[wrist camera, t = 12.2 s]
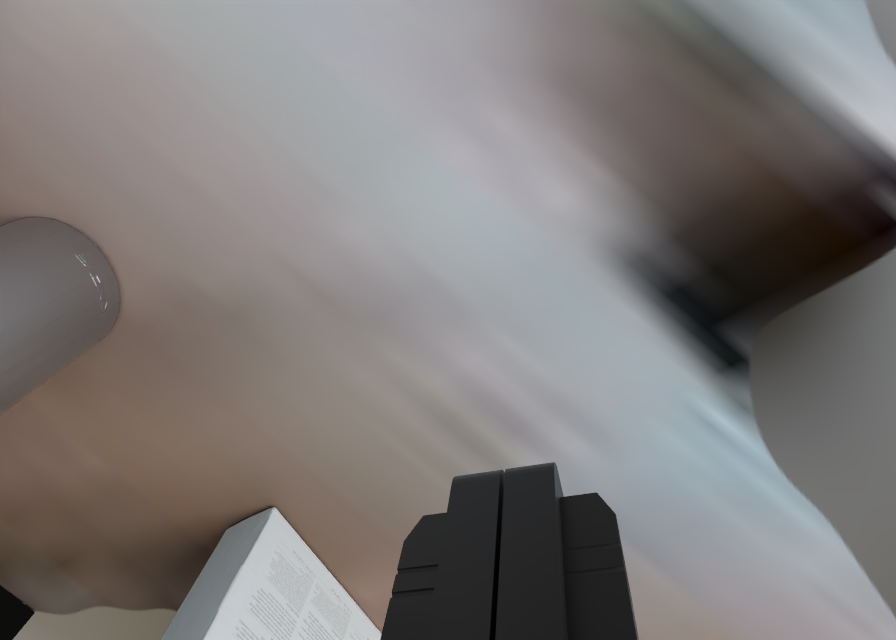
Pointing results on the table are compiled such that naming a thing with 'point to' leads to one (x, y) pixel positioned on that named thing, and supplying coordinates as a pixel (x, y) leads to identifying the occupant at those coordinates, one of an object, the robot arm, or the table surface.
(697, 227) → the table surface
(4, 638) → the black bottle
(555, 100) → the table surface
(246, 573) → the skincare box
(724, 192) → the table surface
